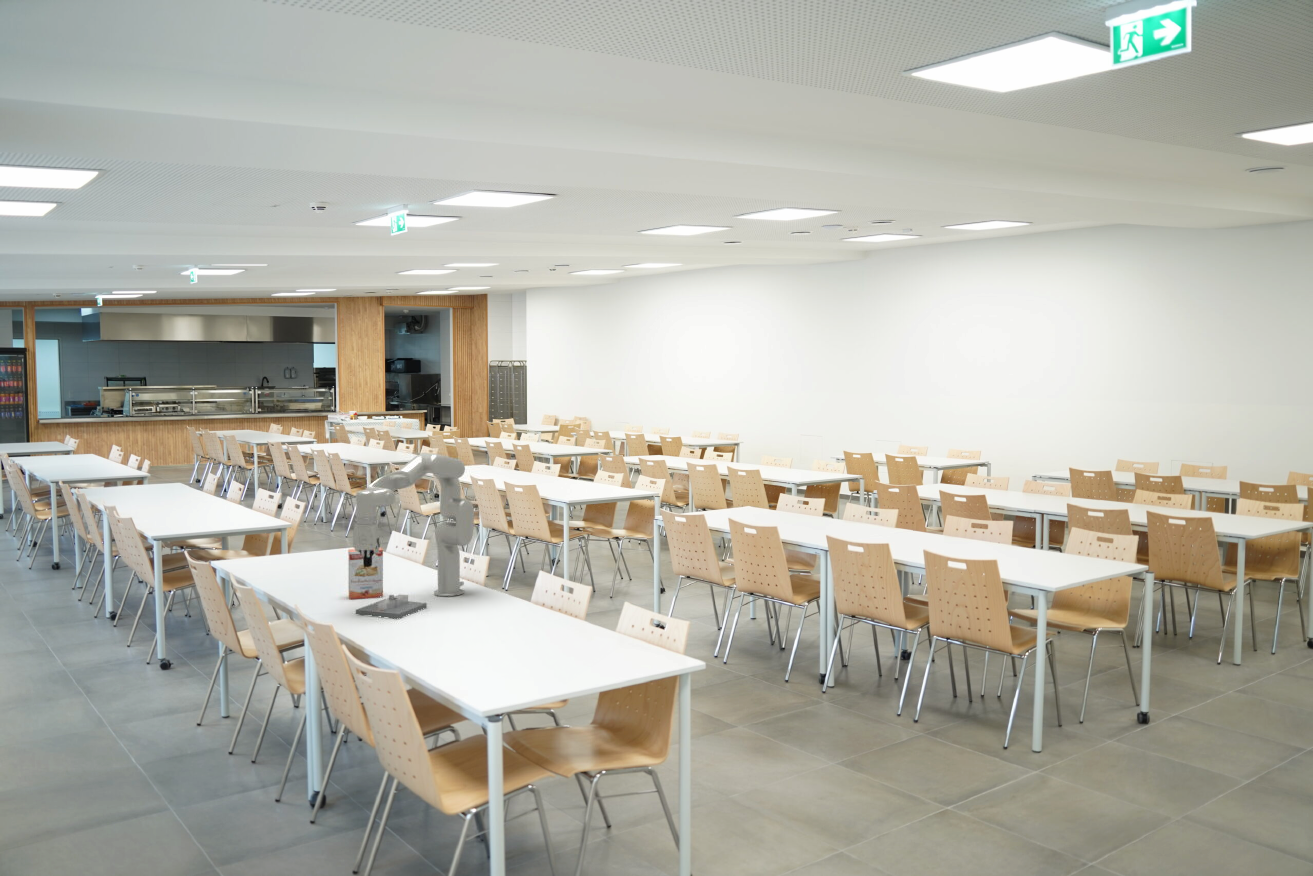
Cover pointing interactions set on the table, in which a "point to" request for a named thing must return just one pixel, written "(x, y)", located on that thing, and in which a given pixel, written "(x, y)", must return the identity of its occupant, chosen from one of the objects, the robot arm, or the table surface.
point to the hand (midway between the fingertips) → (367, 566)
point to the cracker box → (365, 575)
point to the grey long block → (393, 602)
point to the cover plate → (392, 613)
